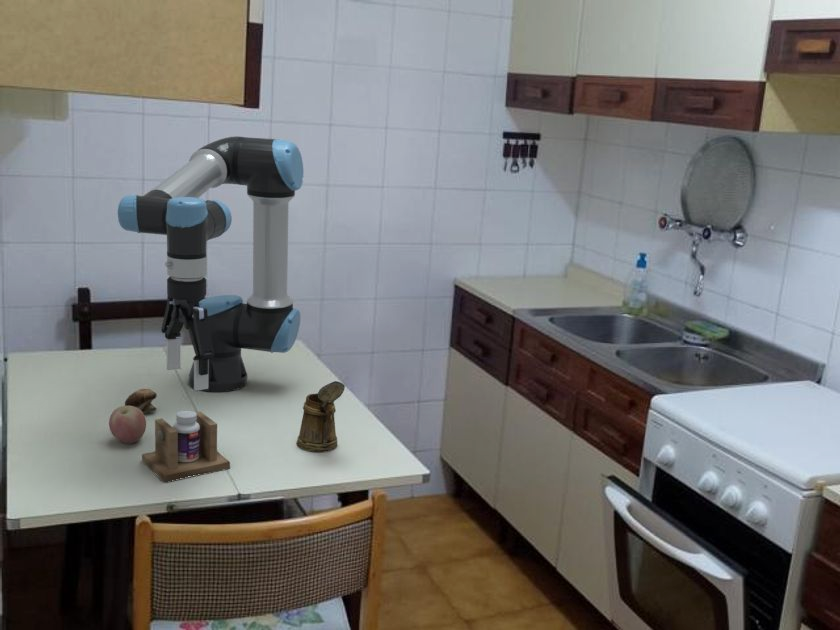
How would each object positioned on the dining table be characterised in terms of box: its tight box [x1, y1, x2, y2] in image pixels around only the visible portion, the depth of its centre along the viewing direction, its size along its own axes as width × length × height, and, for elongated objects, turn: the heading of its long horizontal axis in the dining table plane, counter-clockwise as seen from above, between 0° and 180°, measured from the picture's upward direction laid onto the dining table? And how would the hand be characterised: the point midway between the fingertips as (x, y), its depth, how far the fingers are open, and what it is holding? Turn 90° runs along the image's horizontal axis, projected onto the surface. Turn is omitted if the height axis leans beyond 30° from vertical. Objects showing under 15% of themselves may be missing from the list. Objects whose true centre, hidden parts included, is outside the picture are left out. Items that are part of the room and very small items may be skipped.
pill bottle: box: [172, 410, 200, 462], centre depth 183 cm, size 5×5×10 cm
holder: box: [141, 411, 231, 483], centre depth 183 cm, size 12×14×10 cm
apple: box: [108, 405, 147, 445], centre depth 193 cm, size 8×8×8 cm
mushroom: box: [124, 388, 157, 414], centre depth 211 cm, size 8×8×6 cm
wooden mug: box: [296, 380, 346, 453], centre depth 195 cm, size 9×14×18 cm, turn 27°
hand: (187, 378), depth 180 cm, fingers open, 13 cm apart
